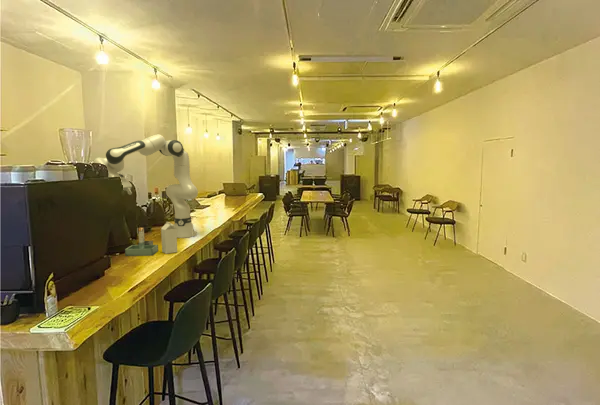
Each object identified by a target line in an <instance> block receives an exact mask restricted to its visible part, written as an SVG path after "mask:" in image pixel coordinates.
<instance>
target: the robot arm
mask: <svg viewBox="0 0 600 405" xmlns="http://www.w3.org/2000/svg"><path fill="white" fill-rule="evenodd" d="M158 151H159V153H160V154H162V156H166V157H172V159H173V176H174V178H175V179H177V180H178V183H179V184H177V183H174V184H169V185H168V186H167V187H166V189H165V194H166V196H167V197H168V198H169V199H170V200H171V203H172V205H173V209H174V220H173V221H174V223H173V225H174V226H173V227H175V228H176V230H177V239H178V238H179V239H181V238H182V239H183V238H185V239H186V238H191V237H196V236H197V230H195V229H194V225H193V223H192V216H191V206H190V205H189V204H188V203H186V201H185V200H193V199H194V200H195V199H196V198H197V197H198V194H199V190H198V188H197V186H196V185H195V184H194V183H193V181H192V179H191V174H190V172H191V170H190V165H191V164H190V156H189V153H188V152H187V151H185V148H184V145H183V143H182V142H180V141H179V140H177V139H170V140H166V138H165V136H163V135H162V134H159V133H157V134H154V135H151V136H148V137H146V138H144V139H142V140H135V141H132V142H130V143H127V144H124V145H121V146H118V147H112V148H109V149H108V150H107V151H106V152H105V157H99V156H98V157H95V159H94V160H93V161H92V162H95V163H101V164H104V165H106V166H107V168H108V171H109V177H117V176H118V177H121V180H122V185H123V190H124V191H126V192H127V194H128V195H129V196H130V195H132V194H133V192H132V191H131V189H132V187H133V185H132V184H131V182H130V181H129V180H128V179H127V178H126V176H125V175H124V174H121V173H120V172H121V171H122V170H124V168H125V160H124V159H125V157H127V156H128V155H131V154H133V153H137V152H138V153H139V154H140V155H142V156H150V155H153V154H155V153H157V152H158Z"/></svg>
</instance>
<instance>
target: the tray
mask: <svg viewBox="0 0 600 405" xmlns="http://www.w3.org/2000/svg"><path fill="white" fill-rule="evenodd" d="M158 252H159V244H153V245H145V249H139V245H138V244H131V245H130V246H128V247H127V248H125V249H124V253H125V254H124V255H125V257H139V256H140V257H143V256H144V257H146V256H148V257H149V256H154V255H155V254H157V253H158Z"/></svg>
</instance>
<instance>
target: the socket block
mask: <svg viewBox="0 0 600 405" xmlns="http://www.w3.org/2000/svg"><path fill="white" fill-rule="evenodd" d="M137 245H139V242H138V243H137ZM144 245H154V241H153V240H144Z"/></svg>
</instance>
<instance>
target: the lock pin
mask: <svg viewBox="0 0 600 405" xmlns="http://www.w3.org/2000/svg"><path fill="white" fill-rule="evenodd" d="M144 241H145V227H140V226H139V227H138V243H139V249H145V245H144Z"/></svg>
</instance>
